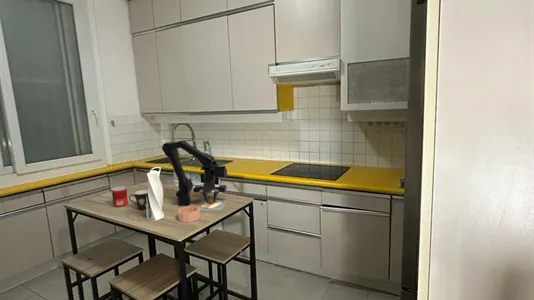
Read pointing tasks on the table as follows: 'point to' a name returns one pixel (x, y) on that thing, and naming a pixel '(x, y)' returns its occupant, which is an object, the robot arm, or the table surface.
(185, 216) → the bowl
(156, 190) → the skyscraper
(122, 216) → the table surface
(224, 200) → the mat
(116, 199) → the canned food
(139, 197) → the coffee mug
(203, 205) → the lid
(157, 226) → the table surface
